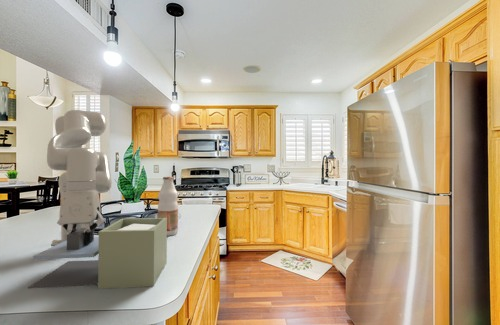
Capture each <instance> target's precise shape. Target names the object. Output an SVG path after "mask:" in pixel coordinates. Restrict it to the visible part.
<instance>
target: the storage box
mask: <svg viewBox="0 0 500 325" xmlns="http://www.w3.org/2000/svg"><path fill="white" fill-rule="evenodd" d="M131 224H149V225H156V226H155V227H154V228H153V229H152V230H119V229H121V228H123V227H126V226H129V225H131ZM98 237H99V254H98V259H97V260H98V284H97V286H98V289H114V288H116V289H117V288H138V287H139V288H141V287H154V286H155V284H156V283H157V281H158V279H159V277H160V275H161V274H162V272H163V270H164V269H165V267H166V265H167V258H168V256H167V252H168V248H167V247H168V246H167V244H168V242H167V241H168V240H167V238H168V236H167V218H158V217H157V218H155V217H146V218H145V217H141V218H139V217H138V218H137V217H136V218H133V217H132V218H130V217H129V218H120V219H119V220H117V221H115V222H113V223H111V224H110V225H108V226H107V227H106V226H105V228H103V229H101V230H99V231H98Z"/></svg>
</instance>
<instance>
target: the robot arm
mask: <svg viewBox="0 0 500 325" xmlns="http://www.w3.org/2000/svg"><path fill="white" fill-rule="evenodd" d="M54 128H55V135H53V137H52V138H51V139H50V140H49V141H48V144H47V152H46V164H47V166H48V167H49V168H50V169H51V170H53V171H65V172H63V173H61V174H60V176H59V177H58V187H59V193H60V206H59V214H58V215H59V216H58V217H59V219H58V220H57V222H56V224H58V225H59V226H60V227H61V232H60V233H61V234H60V235H61V238H60V239H53V240H52V242H51V244H50V246H51V247H53V246H55V245H57V244H60V243H62V242H64V241H66V240H67V235H68V234H70V233H72V232H75V231H77V230H79V229H81V228H86V232H85V234H84V245H88V244H90V243H91V242H92V240H93V230H94V231H95V229H96V228H97V227H98V226H100V225H101V224H103V223H105V221H106V220H105V219H104V217H103V216H102V213H101V200H100V195H99V194H103V193H108V192H109V191H110V190H111V188H112V183H113V182H112V175H111V174H112V173H111V169H110V162H109V159H108V158H109V157H108V155H107V154H105V153H104V152H101V151H96V150H95V149H93V148H91V147H87V145H86V144H87V143H89V142H90V141H91V139H92V137H101V136H102V134H104V133H105V132H106V128H107V120H106V117H105V116H104V114H102V113H100V112H97V111H90V110H89V111H88V110H80V109H71V110H68V111H66V112H65V113H64V115H61V116H58V117H57V118H56V120H55V122H54Z"/></svg>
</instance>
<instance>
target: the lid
mask: <svg viewBox="0 0 500 325" xmlns="http://www.w3.org/2000/svg"><path fill="white" fill-rule="evenodd" d="M85 232H86V228H81V229H79V230H77V231H75V232H72V233H70V234H68V235H67V240H66V241H64V242H62V243H60V244H57V245H55V246H51V247H50V248H47V249H45V250H43V251H40V252H39V253H37V254H35V255H33V256H32V260H33V261H35V260H58V259H59V260H60V259H79V258H80V259H83V258H95V257H97V256H99V236H98V237H97V236H95V229H94V230H93V240H92V242H91V243H90V244H88V245H84V234H85Z"/></svg>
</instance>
